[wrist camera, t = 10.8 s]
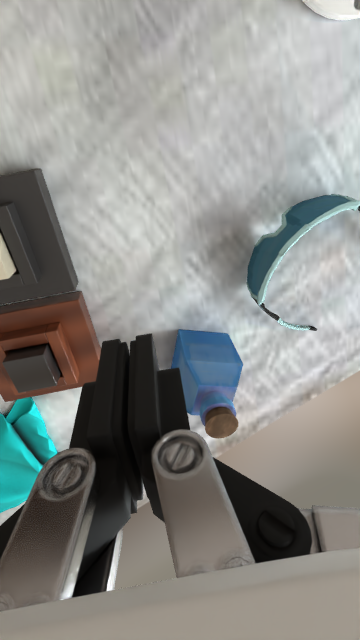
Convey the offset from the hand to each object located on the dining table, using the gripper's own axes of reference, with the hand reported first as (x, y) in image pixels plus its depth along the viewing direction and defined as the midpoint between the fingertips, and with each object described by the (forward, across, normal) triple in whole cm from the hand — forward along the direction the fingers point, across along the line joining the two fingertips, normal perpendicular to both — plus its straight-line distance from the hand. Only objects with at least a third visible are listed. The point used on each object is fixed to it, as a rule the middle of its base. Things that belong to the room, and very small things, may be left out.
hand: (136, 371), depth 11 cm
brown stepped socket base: (+23, +13, +12) cm, 29 cm away
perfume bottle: (+24, -4, +17) cm, 30 cm away
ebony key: (+19, +13, +12) cm, 26 cm away
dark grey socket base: (+23, +14, 0) cm, 27 cm away
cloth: (+23, +23, +31) cm, 45 cm away
